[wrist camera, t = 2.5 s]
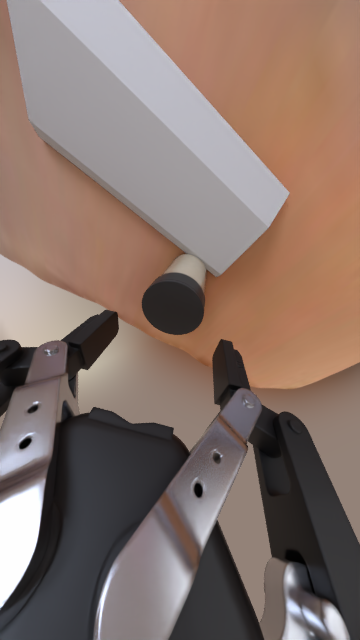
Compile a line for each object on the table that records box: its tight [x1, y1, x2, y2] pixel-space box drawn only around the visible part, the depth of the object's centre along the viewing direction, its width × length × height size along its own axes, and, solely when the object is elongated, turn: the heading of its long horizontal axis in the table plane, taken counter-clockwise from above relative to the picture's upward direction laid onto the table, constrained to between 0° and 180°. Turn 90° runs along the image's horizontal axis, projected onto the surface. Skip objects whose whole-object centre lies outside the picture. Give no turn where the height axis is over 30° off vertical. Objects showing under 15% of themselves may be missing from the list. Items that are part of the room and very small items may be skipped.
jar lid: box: [142, 272, 205, 335], centre depth 16 cm, size 7×7×2 cm
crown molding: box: [7, 0, 290, 277], centre depth 16 cm, size 29×12×4 cm, turn 56°
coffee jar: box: [162, 254, 207, 293], centre depth 20 cm, size 6×6×11 cm
